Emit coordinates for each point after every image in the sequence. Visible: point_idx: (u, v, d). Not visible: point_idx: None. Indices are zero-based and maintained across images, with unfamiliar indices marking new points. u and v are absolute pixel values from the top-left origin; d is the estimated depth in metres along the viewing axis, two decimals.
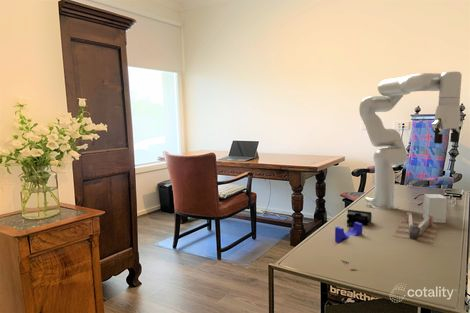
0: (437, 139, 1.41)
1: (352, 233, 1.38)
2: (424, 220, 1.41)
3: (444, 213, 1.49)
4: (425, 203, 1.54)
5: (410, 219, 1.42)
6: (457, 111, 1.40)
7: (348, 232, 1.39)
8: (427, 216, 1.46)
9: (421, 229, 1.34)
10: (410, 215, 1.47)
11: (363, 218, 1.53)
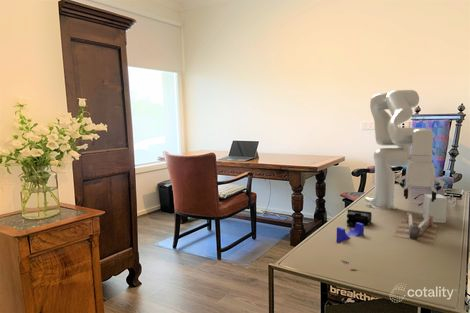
0: (435, 197, 1.37)
1: (353, 233, 1.37)
2: (424, 220, 1.41)
3: (444, 213, 1.49)
4: (425, 203, 1.54)
5: (410, 219, 1.42)
6: None
7: (349, 232, 1.39)
8: (427, 216, 1.46)
9: (421, 229, 1.34)
10: (410, 215, 1.47)
11: (363, 218, 1.53)
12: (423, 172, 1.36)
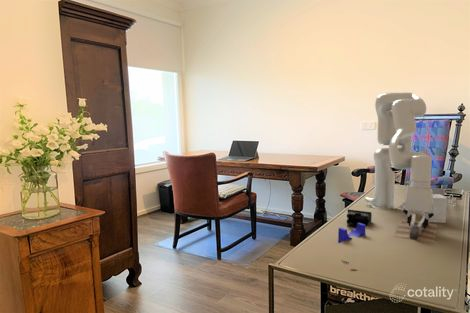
0: None
1: (355, 234, 1.37)
2: (422, 220, 1.41)
3: (444, 213, 1.49)
4: None
5: (412, 219, 1.42)
6: None
7: (351, 233, 1.38)
8: None
9: (420, 229, 1.35)
10: (414, 215, 1.47)
11: (363, 218, 1.53)
12: (421, 198, 1.37)
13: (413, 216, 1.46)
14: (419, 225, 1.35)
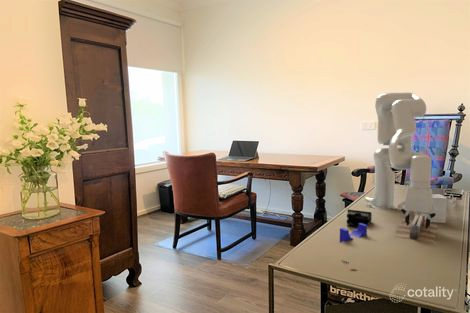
0: (429, 223, 1.40)
1: (356, 234, 1.36)
2: (419, 219, 1.42)
3: (444, 213, 1.49)
4: None
5: (415, 219, 1.42)
6: None
7: (352, 233, 1.38)
8: None
9: (419, 228, 1.35)
10: (417, 216, 1.46)
11: (363, 218, 1.53)
12: (421, 198, 1.37)
13: (416, 216, 1.46)
14: (418, 225, 1.35)
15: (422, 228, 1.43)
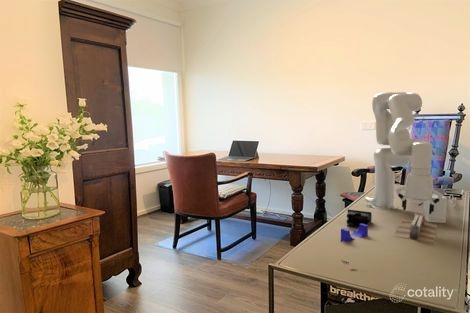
0: (433, 209, 1.39)
1: (357, 235, 1.36)
2: (419, 219, 1.42)
3: (444, 213, 1.49)
4: (425, 203, 1.54)
5: (415, 219, 1.42)
6: None
7: (353, 234, 1.37)
8: None
9: (419, 228, 1.35)
10: (417, 216, 1.46)
11: (363, 218, 1.53)
12: (422, 185, 1.37)
13: (416, 216, 1.46)
14: (418, 225, 1.35)
15: (422, 228, 1.43)
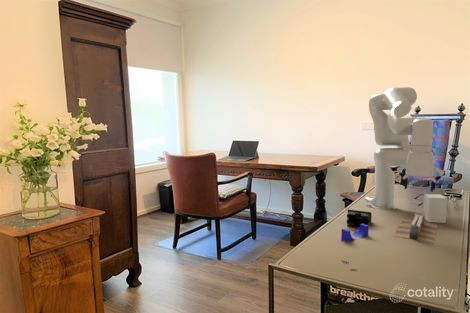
0: None
1: (358, 235, 1.36)
2: (419, 219, 1.42)
3: (444, 213, 1.49)
4: (425, 203, 1.54)
5: (415, 219, 1.42)
6: None
7: (354, 234, 1.37)
8: None
9: (419, 228, 1.35)
10: (417, 216, 1.46)
11: (363, 218, 1.53)
12: (423, 162, 1.36)
13: (416, 216, 1.46)
14: (418, 225, 1.35)
15: (422, 228, 1.43)
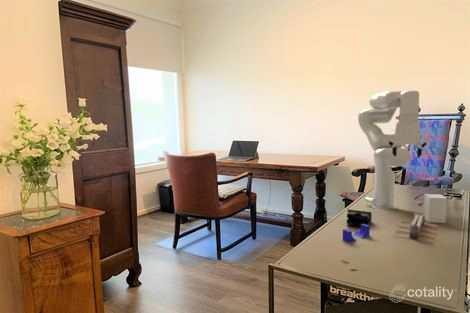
0: (421, 153, 1.50)
1: (359, 235, 1.35)
2: (419, 219, 1.42)
3: (444, 213, 1.49)
4: (425, 203, 1.54)
5: (415, 219, 1.42)
6: None
7: (355, 234, 1.37)
8: None
9: (419, 228, 1.35)
10: (417, 216, 1.46)
11: (363, 218, 1.53)
12: (410, 130, 1.48)
13: (416, 216, 1.46)
14: (418, 225, 1.35)
15: (422, 228, 1.43)
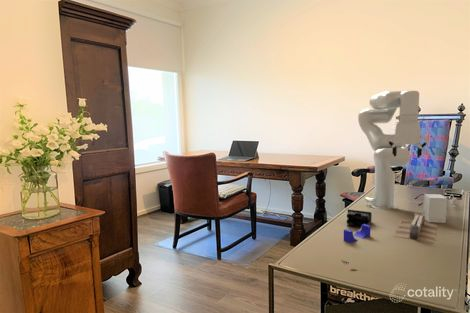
0: (421, 153, 1.50)
1: (360, 235, 1.35)
2: (419, 219, 1.42)
3: (444, 213, 1.49)
4: (425, 203, 1.54)
5: (415, 219, 1.42)
6: None
7: (356, 234, 1.36)
8: None
9: (419, 228, 1.35)
10: (417, 216, 1.46)
11: (363, 218, 1.53)
12: (410, 130, 1.48)
13: (416, 216, 1.46)
14: (418, 225, 1.35)
15: (422, 228, 1.43)
